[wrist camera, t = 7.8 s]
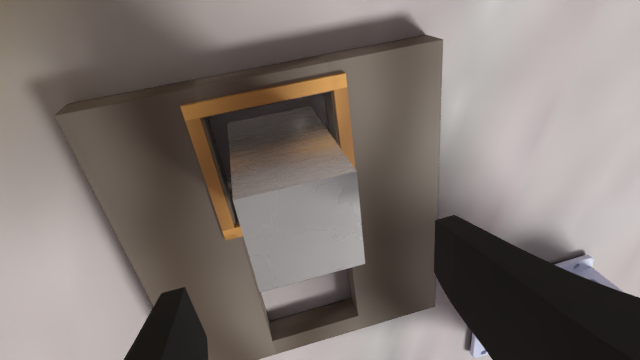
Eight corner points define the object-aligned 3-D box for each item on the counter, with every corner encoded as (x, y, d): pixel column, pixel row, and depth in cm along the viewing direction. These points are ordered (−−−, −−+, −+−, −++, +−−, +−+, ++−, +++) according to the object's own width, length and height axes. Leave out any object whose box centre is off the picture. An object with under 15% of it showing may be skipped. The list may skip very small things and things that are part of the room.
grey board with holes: (426, 34, 18) (445, 40, 16) (424, 290, 26) (436, 308, 25) (67, 104, 16) (51, 117, 14) (192, 357, 24) (191, 382, 23)
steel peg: (310, 105, 18) (356, 171, 12) (320, 177, 20) (365, 263, 14) (227, 123, 17) (232, 200, 12) (246, 194, 20) (259, 292, 14)
